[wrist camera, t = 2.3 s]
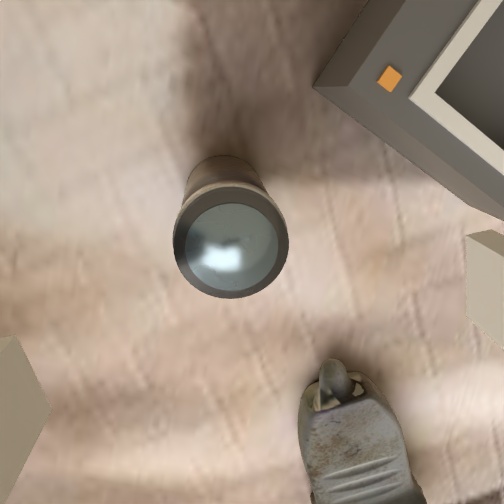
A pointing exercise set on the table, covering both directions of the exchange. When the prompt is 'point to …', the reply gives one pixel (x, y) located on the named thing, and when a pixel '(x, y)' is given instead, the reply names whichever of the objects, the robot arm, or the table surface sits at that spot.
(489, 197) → the grey planter box
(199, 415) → the table surface
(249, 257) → the lens
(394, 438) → the handheld device
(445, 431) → the table surface
